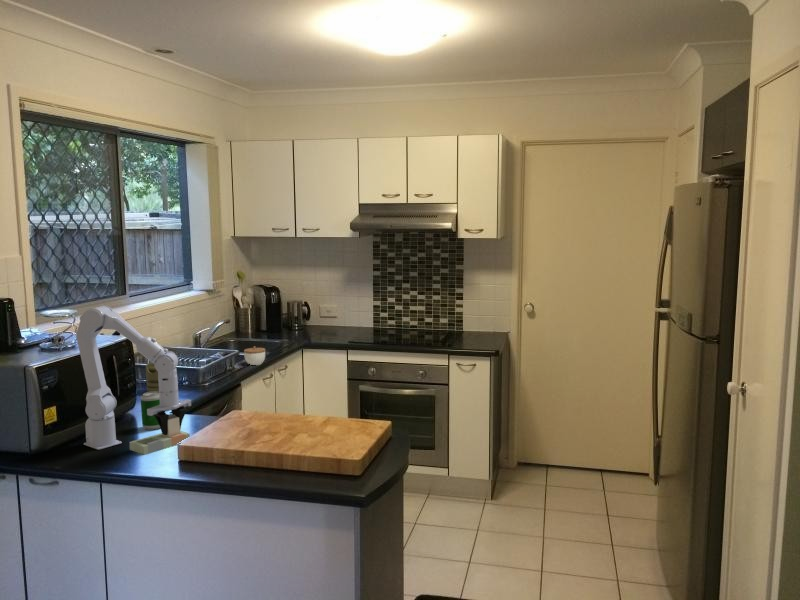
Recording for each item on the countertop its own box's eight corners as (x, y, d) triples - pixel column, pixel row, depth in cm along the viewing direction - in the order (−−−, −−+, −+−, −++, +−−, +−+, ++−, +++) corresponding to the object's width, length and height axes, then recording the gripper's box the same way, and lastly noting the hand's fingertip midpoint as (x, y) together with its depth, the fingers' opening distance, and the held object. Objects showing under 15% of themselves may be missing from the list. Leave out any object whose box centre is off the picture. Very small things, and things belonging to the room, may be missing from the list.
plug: (162, 439, 213) (160, 415, 212) (173, 436, 216) (171, 412, 216) (169, 441, 211) (167, 417, 210) (180, 438, 214) (178, 414, 213)
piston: (162, 367, 276) (139, 366, 280) (164, 395, 278) (141, 394, 281) (179, 361, 287) (157, 360, 291) (180, 389, 288) (159, 388, 292)
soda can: (161, 430, 227) (159, 395, 226) (139, 431, 227) (136, 396, 226) (168, 424, 234) (166, 390, 233) (147, 424, 234) (145, 391, 233)
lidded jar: (269, 364, 338) (268, 346, 337) (248, 367, 332) (247, 348, 331) (261, 361, 347) (260, 343, 346) (241, 364, 341) (240, 346, 340)
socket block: (129, 449, 207) (129, 441, 206) (175, 436, 219) (175, 428, 219) (144, 454, 202) (143, 445, 201) (190, 441, 214) (189, 432, 214)
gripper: (154, 397, 204) (157, 440, 205) (195, 387, 215) (198, 429, 216) (142, 394, 208) (145, 436, 209) (183, 385, 219) (185, 425, 221)
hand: (171, 432), depth 213 cm, fingers closed on plug, 4 cm apart
